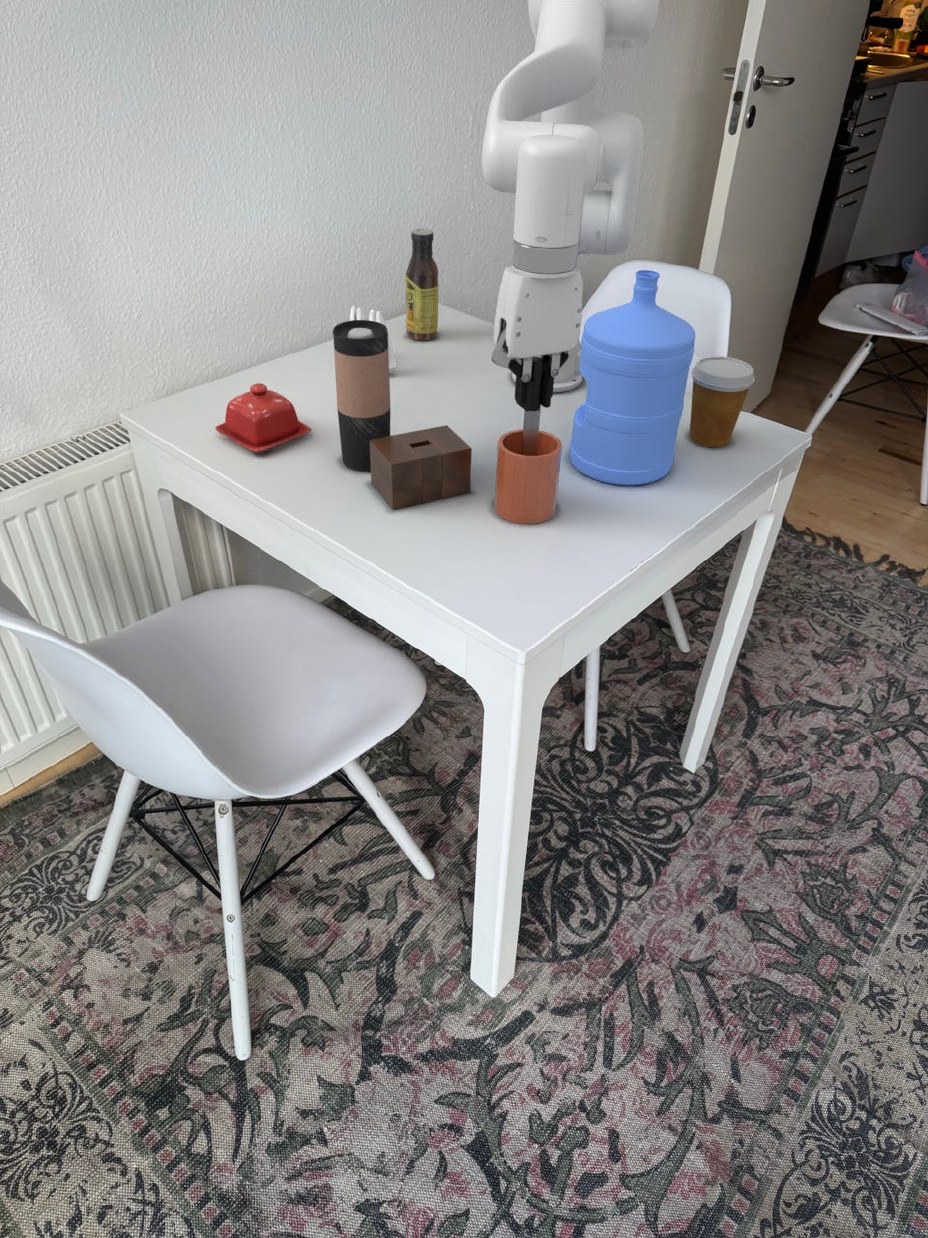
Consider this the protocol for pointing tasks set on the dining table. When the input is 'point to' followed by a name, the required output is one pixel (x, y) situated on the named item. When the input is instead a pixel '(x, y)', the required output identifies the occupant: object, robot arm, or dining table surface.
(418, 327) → the sauce bottle
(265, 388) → the butter dish
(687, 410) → the dining table surface
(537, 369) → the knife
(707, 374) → the disposable coffee cup
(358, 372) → the travel mug
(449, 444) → the knife block
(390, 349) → the shaker set
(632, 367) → the water jug
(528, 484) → the cup
